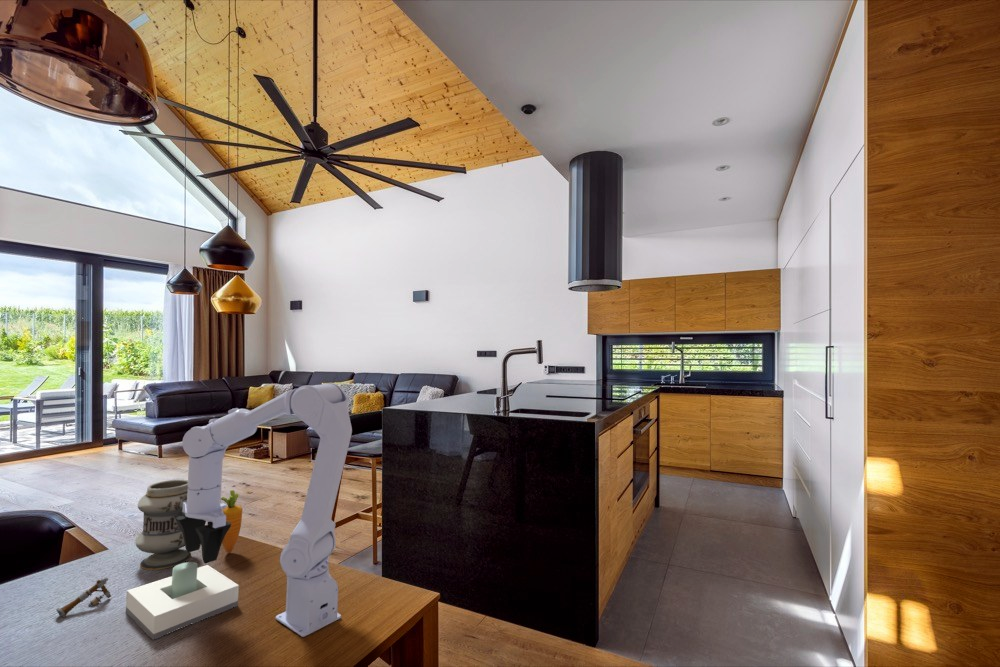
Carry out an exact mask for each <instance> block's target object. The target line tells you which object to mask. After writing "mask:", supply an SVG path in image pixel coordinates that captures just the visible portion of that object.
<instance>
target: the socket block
mask: <svg viewBox="0 0 1000 667" xmlns="http://www.w3.org/2000/svg"><path fill="white" fill-rule="evenodd" d="M239 585H240V584H238V583H236V582H234V580H232V579H230V578H229V577H227V576H226V575H224V574H222V573H221V572H219V571H217V570H216V569H215V568H213V567H211V566H210V565H208V564H206V565H202V566H199V567H197V582H196V591H194V592H191V593H188V594H185V595H183V596H180V597H177V598H174V599H171V590H172V575H171V576H168V577H165V578H162V579H159V580H155V581H153V582H149V583H146V584H142V585H140V586H136V587H134V588H131V589H130V588H129V589H127V590H126V600H125V602H126V604H125V613H126V614H127V615H128V616H129V617H130V618H131V619H132V620H133V621H134V620H135V621H134V622H135V623H136V624H137V625H138V626H139V627H140V628H141V629H142V630H143V631H144V632H145V633H146V634H147V636H148V637H149V638H151V639H152V640H153V641H154V639H155V640H157V639H160V638H162V637H164V636H163V635H165V634H167V633H169V632H172V631H174V630H176V629H178V628H181V627H184V626H186V625H189V624H191V623H194V624H196V623H195V622H197V621H199V622H201V621H200V620H202V619H204V620H206V619H205V618H207V619H209V618H211V617H210V616H212V617H214V616H216V615H215V614H217V615H219V614H221V612H222V613H224V612H226V611H228V610H231V609H234V608H236V607H238V606H237V605H239V589H240V588H239V587H240V586H239ZM233 607H234V608H233ZM218 613H219V614H218ZM213 615H214V616H213ZM208 617H209V618H208ZM202 621H203V620H202ZM197 623H198V622H197ZM189 626H190V625H189ZM184 628H185V627H184ZM172 633H173V632H172ZM167 635H168V634H167ZM161 636H162V637H161ZM165 636H166V635H165ZM159 637H160V638H159Z"/></svg>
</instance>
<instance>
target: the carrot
mask: <svg viewBox="0 0 1000 667" xmlns="http://www.w3.org/2000/svg"><path fill="white" fill-rule="evenodd" d="M229 492H230V496H229V498H226V497H224V496H223V497H222V496H221V501H224V503H225V504H226V505H227V506H226V508H225V509H222V510H223V513H224V515H226V521H228V522H230V523H231V527H230V528H229V530H228V531H227V533H226V535H225V537H224V539H223V541H222V544H221V545H222V546H223V548H224V550H225V552H226V553H227V554H230V552H231V553H232V551H233V550H234V548H235V547H236V543H237V541H238V538H239V535H240V532H241V526H242V518H243V507H242V506H241V505H237V504H236V503H237V500H238V497H239V493H236V492H235V490H233V489H232V490H230V491H229Z"/></svg>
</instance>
